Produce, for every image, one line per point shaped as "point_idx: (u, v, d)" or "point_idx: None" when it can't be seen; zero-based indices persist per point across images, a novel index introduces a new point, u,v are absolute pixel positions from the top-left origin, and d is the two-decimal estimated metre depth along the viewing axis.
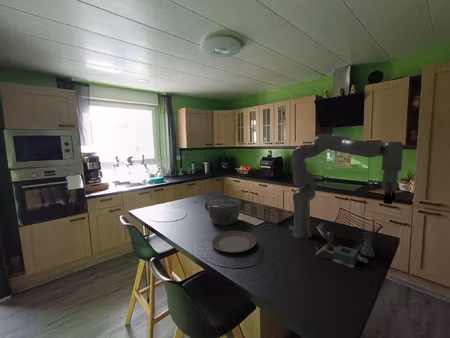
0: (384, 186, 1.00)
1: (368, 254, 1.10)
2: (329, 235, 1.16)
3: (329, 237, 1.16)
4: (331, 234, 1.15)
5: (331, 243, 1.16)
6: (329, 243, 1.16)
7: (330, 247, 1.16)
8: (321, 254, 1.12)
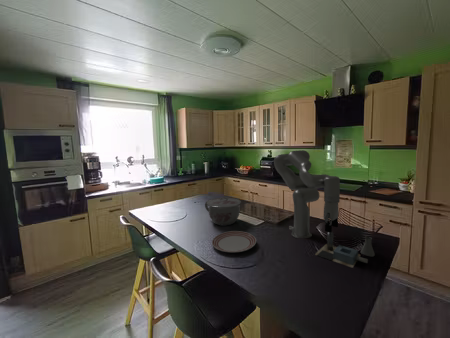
0: (325, 216, 1.13)
1: (368, 254, 1.10)
2: (329, 235, 1.16)
3: (329, 237, 1.16)
4: (331, 234, 1.15)
5: (331, 243, 1.16)
6: (329, 243, 1.16)
7: (330, 247, 1.16)
8: (321, 254, 1.12)
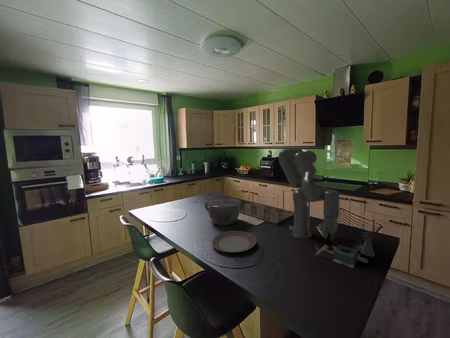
0: (324, 232, 1.15)
1: (368, 254, 1.10)
2: (329, 235, 1.16)
3: None
4: None
5: None
6: None
7: (330, 247, 1.16)
8: (321, 254, 1.12)
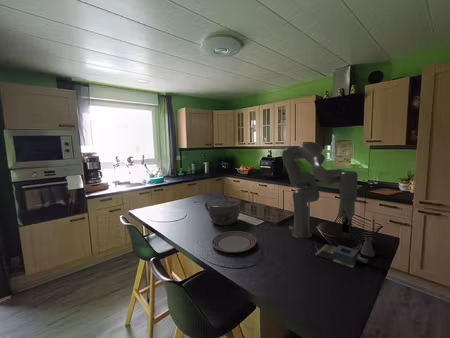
0: None
1: (368, 254, 1.10)
2: (346, 220, 1.05)
3: None
4: None
5: None
6: None
7: (347, 234, 1.06)
8: (321, 254, 1.12)
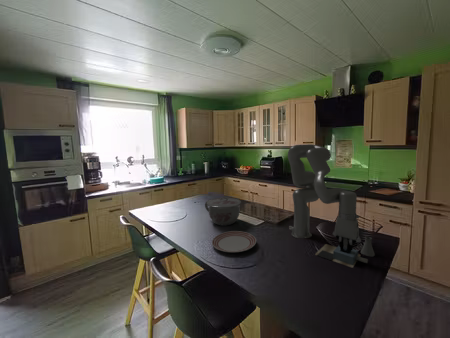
0: None
1: (368, 254, 1.10)
2: None
3: None
4: None
5: (343, 247, 1.08)
6: None
7: (342, 251, 1.09)
8: (321, 254, 1.12)
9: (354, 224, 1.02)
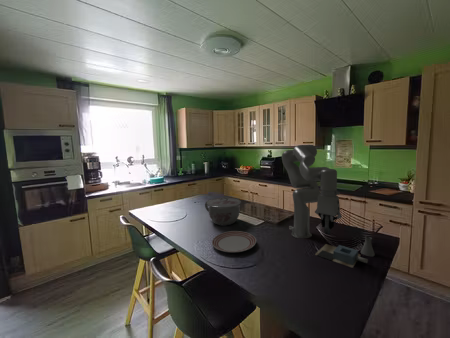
0: None
1: (368, 254, 1.10)
2: None
3: None
4: None
5: (324, 225, 1.09)
6: None
7: (324, 229, 1.10)
8: (321, 254, 1.12)
9: (334, 200, 1.04)
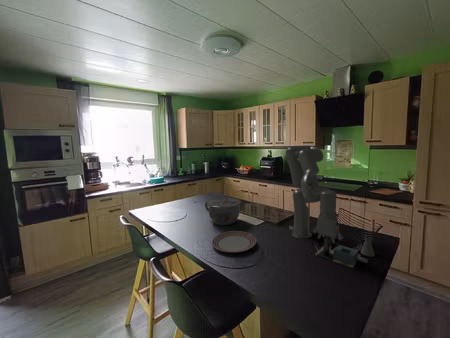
0: None
1: (368, 254, 1.10)
2: None
3: None
4: None
5: (323, 247, 1.11)
6: None
7: (323, 251, 1.12)
8: (321, 254, 1.12)
9: (334, 222, 1.05)
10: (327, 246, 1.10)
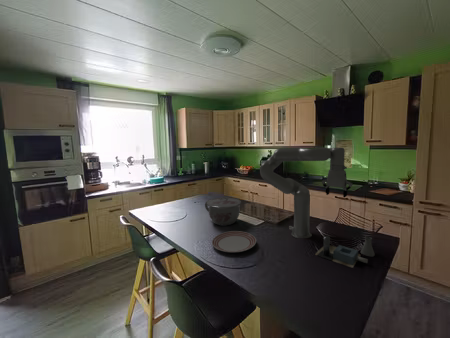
0: None
1: (368, 254, 1.10)
2: None
3: None
4: None
5: (323, 247, 1.11)
6: None
7: (323, 251, 1.12)
8: (321, 254, 1.12)
9: (342, 173, 1.23)
10: (327, 246, 1.10)
